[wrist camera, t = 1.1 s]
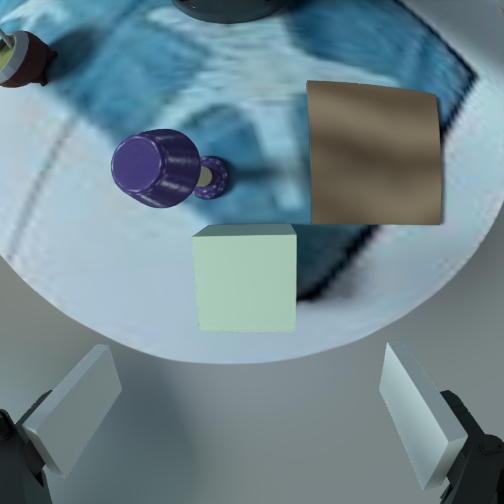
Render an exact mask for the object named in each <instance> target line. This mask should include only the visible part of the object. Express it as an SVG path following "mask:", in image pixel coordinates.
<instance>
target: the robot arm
mask: <svg viewBox="0 0 504 504" xmlns="http://www.w3.org/2000/svg"><path fill="white" fill-rule="evenodd" d="M171 1H172V2H173V4H174V5H175V6H176V7H177V8H178V9H179V10H180V11H182V12H183V13H185V14H186V15H188V16H190V17H193V18H195V19H198V20H202V21H206V22H212V23H239V22H245V21H250V20H255V19H258V18H261V17H264V16H266V15H269V14H271V13H273V12H275V11H277V10H279V9H280V8H282V7H283V6H284V5H286V4H287V3H288V2H289V1H290V0H171ZM379 390H380V392H381V394H382V396H383V399H384V401H385V403H386V405H387V408H388V410H389V412H390V414H391V416H392V419H393V421H394V423H395V426H396V428H397V430H398V432H399V434H400V437H401V439H402V442H403V444H404V446H405V449H406V451H407V453H408V456H409V458H410V461H411V463H412V465H413V468H414V470H415V473H416V475H417V477H418V480H419V483H420V485H421V488H422V490H423V491H424V490H427V489H430V488H433V487H437V486H440V485H441V484H442V483H443V481H444V479H445V477H446V476H447V478H448V480H449V482H450V484H449V485H448V487H447V488H446V490H445V491H444V493H443V494H442V496H441V497H440V498H441V499H442V500H441V502H440V504H504V442H502V440H501V439H500V438H498V437H497V436H493V435H487V434H484V432H483V431H482V429H481V428H480V426H479V425H478V423H477V422H476V421H475V419H474V418H473V416H472V415H471V414H470V412H468V409H467V408H466V407H465V406H464V405H463V403H462V402H461V400H460V398H459V397H458V396H457V395H455V394H454V393H452V392H451V391H449V390H446V391H442V392H439V391H438V390H437V388H436V387H435V385H434V384H433V382H432V381H431V379H430V378H429V377H428V375H427V374H426V373H425V371H424V370H423V368H422V367H421V365H420V364H419V363H418V361H417V360H416V359H415V357H414V356H413V355H412V353H411V352H410V350H409V349H408V348H407V346H406V345H405V343H404V342H403V341H402V340H400V341H391V342H387V346H386V353H385V360H384V365H383V371H382V376H381V382H380V387H379ZM121 391H122V388H121V385H120V381H119V378H118V375H117V372H116V368H115V365H114V361H113V357H112V354H111V350H110V346H108V345H99V344H97V345H95V347H94V348H93V349H92V350H91V351H90V352H89V353H88V354H87V355H86V356H85V357H84V358H83V359H82V360H81V361H80V362H79V363H78V364H77V365H76V366H75V368H73V370H72V371H71V372H70V373H69V374H68V375H67V376H66V377H65V378H64V379H63V380H62V381H61V382H60V383H59V385H58V386H57V387H56V388H55V389H54V390H50V391H48V392H47V393H45V394H43V395H42V396H41V397H40V398H39V399H38V400H37V401H36V403H34V404H33V406H31V409H29V410H28V411H27V412H26V413H25V414H24V415H23V416H22V417H21V419H20V420H19V421H18V422H17V423H16V424H15V425H14V423H13V421H12V419H11V418H10V416H9V414H8V412H6V410H3V409H0V504H52V501H51V497H50V493H49V489H48V484H47V480H46V475H45V473H44V471H43V469H42V468H43V466H44V465H45V464H46V465H47V467H48V468H49V470H50V471H51V473H53V474H55V475H58V476H61V477H63V478H66V477H67V476H68V474H69V472H70V471H71V469H72V468H73V466H74V464H75V463H76V461H77V459H78V458H79V456H80V455H81V453H82V451H83V450H84V448H85V447H86V445H87V444H88V442H89V440H90V439H91V437H92V436H93V434H94V433H95V431H96V429H97V428H98V426H99V425H100V423H101V421H102V420H103V418H104V417H105V415H106V414H107V412H108V411H109V409H110V408H111V406H112V405H113V403H114V402H115V400H116V398H117V397H118V395H119V394H120V392H121Z"/></svg>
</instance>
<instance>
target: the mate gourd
mask: <svg viewBox="0 0 504 504" xmlns="http://www.w3.org/2000/svg"><path fill="white" fill-rule="evenodd" d="M0 36H1V39H0V86H2V87H8V88H16V87H21V86H24V85H27V84H29V83H40V84H41V86H45V85H46V84H47V79H46V76H45V73H44V68H45V67H46V66H47V65H48V64H49V63H50V62H51V61H52V60H54V59H55V58H56V57H57V56H58V53H57V52H56V51H54V52H52V51H51V49H50V48H49V47H48V45H46V44H45V43H44V42H42V41H41V40H40V39H39V38H38V37H37V36H35V35H34V34H32V33H30V32H28V31H22V30H21V31H15V32H11V33H9V34H7V35H6V34H5V33H4V32H3V31H2V30H1V29H0Z"/></svg>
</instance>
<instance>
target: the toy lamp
mask: <svg viewBox="0 0 504 504" xmlns="http://www.w3.org/2000/svg"><path fill="white" fill-rule="evenodd" d="M111 172H112V176H113V179H114V181H115V183H116V184H117V186H118V187H119V188H120V189H121V190H122V191H123V192H124V193H126V194H128V195H129V196H131V197H132V198H134V199H136V200H137V201H139V202H141V203H143V204H145V205H147V206H150V207H154V208H168V207H172V206H176V205H177V204H179V203H181V202H182V201H184V200H185V199H186V198H187V197H188V196H189V195H190V194H191V193H193V194H194V195H195V196H196V197H198V198H201V199H213V198H216V197H217V196H219V195H221V194H222V193H223V192H224V191H225V189H226V188H227V185H228V181H229V173H228V169H227V167H226V165H225V164H224V163H223V162H222V161H221V160H220V159H218V158H216V157H212V156H203V157H200V155H199V153H198V150H197V148H196V146H195V145H194V143H193V142H192V141H191V140H190V139H189V138H188V137H187V136H186V135H184V134H183V133H181V132H179V131H176V130H172V129H156V130H151V131H146V132H141V133H137V134H134V135H131V136H129V137H128V138H126V139H125V140H123V141H122V142H121V143H120V144H119V146H118V147H117V148H116V150H115V152H114V154H113V157H112V161H111Z"/></svg>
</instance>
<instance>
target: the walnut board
mask: <svg viewBox="0 0 504 504" xmlns="http://www.w3.org/2000/svg"><path fill="white" fill-rule="evenodd" d="M306 87H307V104H308V124H309V149H310V188H311V224H312V225H321V224H395V225H440V217H441V152H440V134H439V122H438V111H437V102H436V95H435V94H430V93H425V92H419V91H413V90H407V89H400V88H393V87H386V86H378V85H369V84H358V83H347V82H332V81H308V80H307V83H306Z"/></svg>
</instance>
